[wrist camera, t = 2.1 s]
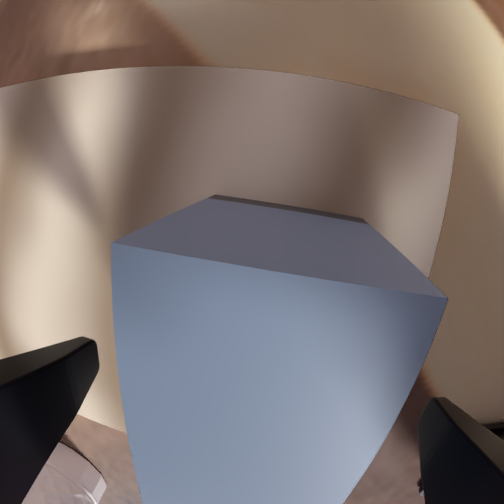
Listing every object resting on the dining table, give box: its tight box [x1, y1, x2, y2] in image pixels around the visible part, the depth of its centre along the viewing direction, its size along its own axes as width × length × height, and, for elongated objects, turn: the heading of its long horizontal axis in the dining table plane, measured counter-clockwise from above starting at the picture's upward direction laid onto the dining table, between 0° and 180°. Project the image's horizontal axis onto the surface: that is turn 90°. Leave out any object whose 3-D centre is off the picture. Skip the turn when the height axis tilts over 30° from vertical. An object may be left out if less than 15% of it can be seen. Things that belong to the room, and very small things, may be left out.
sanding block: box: [111, 195, 448, 504], centre depth 8 cm, size 4×8×6 cm, turn 173°
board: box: [0, 66, 459, 433], centre depth 12 cm, size 20×16×2 cm
